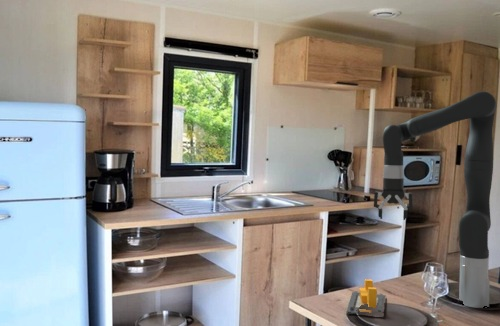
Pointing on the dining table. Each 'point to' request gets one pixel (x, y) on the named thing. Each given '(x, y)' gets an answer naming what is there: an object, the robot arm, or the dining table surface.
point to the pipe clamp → (369, 293)
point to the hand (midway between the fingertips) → (392, 219)
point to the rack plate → (356, 303)
